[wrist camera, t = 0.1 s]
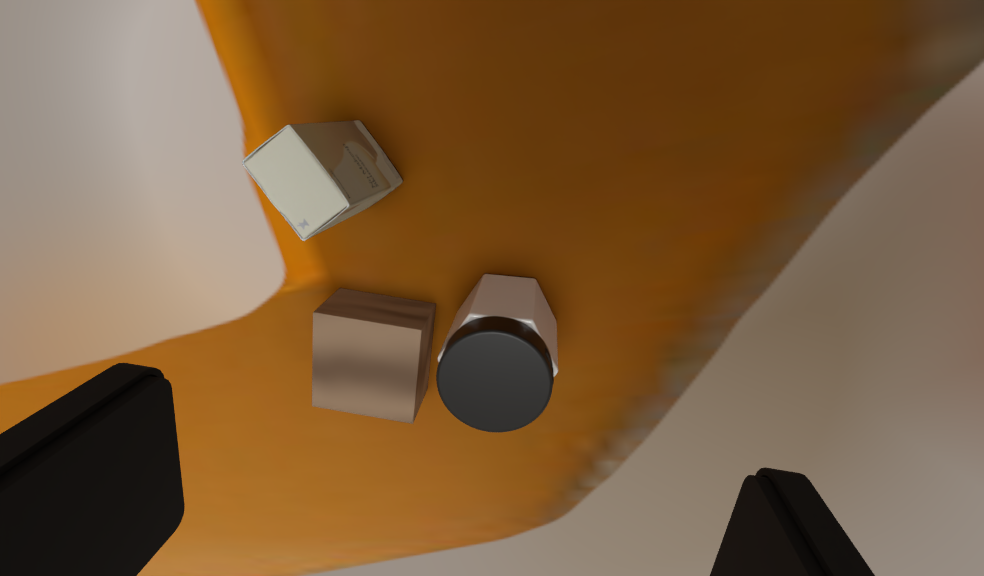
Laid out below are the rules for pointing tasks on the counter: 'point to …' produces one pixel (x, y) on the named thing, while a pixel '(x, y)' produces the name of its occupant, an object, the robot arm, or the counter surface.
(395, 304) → the brown square block
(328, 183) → the skincare box
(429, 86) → the counter surface
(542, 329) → the jar
